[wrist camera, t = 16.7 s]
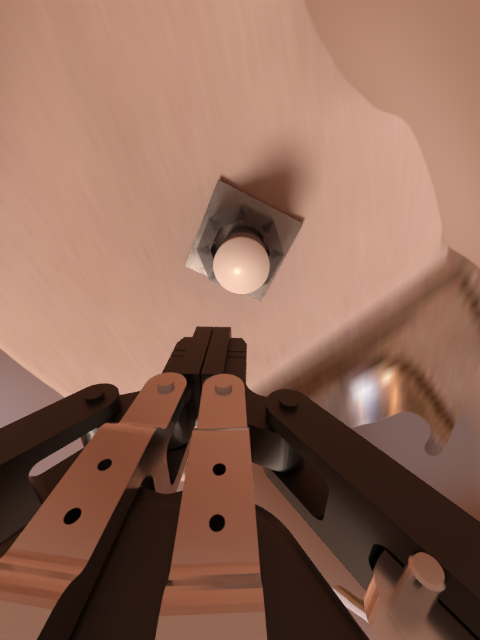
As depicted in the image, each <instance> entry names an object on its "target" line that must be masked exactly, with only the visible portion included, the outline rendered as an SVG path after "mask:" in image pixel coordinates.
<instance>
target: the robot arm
mask: <svg viewBox="0 0 480 640" xmlns="http://www.w3.org/2000/svg"><path fill="white" fill-rule="evenodd" d="M246 356H247V344H246V343H245V341H244V340H243V339H242V338H231V327H196V330H195V332H194V335H193V337H184V338H183V339H182V340H180V341H179V342H178V343H177V344H176V346H175V348H174V351H173V352H172V354H171V357H170V358H169V360H168V362H167V364H166V366H165V368H164V370H163V372H162V374H158V375H156V376H154V377H152V378H151V379H149V380H148V381H147V382H146V384H145V385H144V387H143V388H142V390H141V391H138V392H134V393H128V394H123V395H119V391H118V388H117V387H116V386H114V385H112V384H96V385H92V386H89V387H87V388H85V389H83V390H80V391H78V392H76V393H74V394H72V395H70V396H68V397H66V398H64V399H61V400H59V401H57V402H55V403H53V404H51V405H49V406H47V407H45V408H43V409H40V410H38V411H36V412H34V413H32V414H30V415H28V416H26V417H23V418H21V419H19V420H17V421H15V422H13V423H11V424H9V425H7V426H4V427H3V428H0V640H369V638H368V637H367V636H366V634H365V633H364V631H363V630H362V629H361V627H360V626H359V625H358V623H357V622H356V621H355V619H354V618H353V617H352V615H351V614H350V612H349V611H348V610H347V608H346V607H345V606H344V604H343V603H342V602H341V600H340V599H339V598H338V596H337V595H336V593H335V592H334V591H333V589H332V588H331V587H330V585H329V584H328V583H327V581H326V580H325V579H324V577H323V576H322V575H321V573H320V572H319V571H318V569H317V568H316V566H315V565H314V564H313V562H312V561H311V560H310V558H309V557H308V556H307V554H306V553H305V551H304V550H303V549H302V548H301V546H300V545H299V544H298V542H297V541H296V539H295V538H294V537H293V535H292V534H291V533H290V531H289V530H288V529H287V528H286V527H285V526H284V525H283V524H282V523H281V522H280V520H278V519H277V518H276V517H275V516H274V515H272V514H271V513H269V512H268V511H267V510H265V509H264V508H262V507H259V506H258V505H256V504H255V500H254V487H253V474H252V462H253V463H255V464H259V465H261V466H263V470H264V472H265V474H266V475H267V477H268V478H269V479H270V480H271V482H272V483H273V484H274V485H275V486H276V487H277V488H278V490H279V491H280V492H281V493H282V494H283V495H284V497H285V498H286V499H287V500H288V501H289V502H290V504H291V505H292V506H293V507H294V508H295V509H296V510H297V512H298V513H299V514H300V515H301V516H302V518H303V519H304V520H305V521H306V522H307V523H308V524H309V526H310V527H311V528H312V529H313V530H314V532H315V533H316V534H317V535H318V536H319V537H320V539H321V540H322V541H323V542H324V543H325V544H326V545H327V547H328V548H329V549H330V550H331V551H332V552H333V554H334V555H335V556H336V557H337V558H338V559H339V561H340V562H341V563H342V564H343V565H344V566H345V568H346V569H347V570H348V571H349V572H350V573H351V574H352V576H353V577H354V578H355V579H356V580H357V581H358V583H359V584H360V585H361V586H362V587H363V588H364V590H365V598H364V605H365V612H366V616H367V620H368V622H369V625H370V627H371V630H372V631H373V634H374V635H375V637H376V639H377V640H480V522H479V521H478V520H476V519H475V518H473V517H472V516H471V515H469V514H468V513H467V512H465V511H464V510H463V509H461V508H460V507H458V506H457V505H456V504H454V503H453V502H452V501H450V500H449V499H447V498H446V497H445V496H443V495H442V494H440V493H439V492H438V491H436V490H435V489H434V488H432V487H431V486H429V485H428V484H426V483H425V482H424V481H422V480H421V479H420V478H418V477H417V476H416V475H414V474H413V473H411V472H410V471H409V470H407V469H406V468H404V467H403V466H402V465H400V464H399V463H398V462H396V461H395V460H393V459H392V458H391V457H389V456H388V455H386V454H385V453H384V452H382V451H381V450H379V449H378V448H377V447H375V446H374V445H373V444H371V443H370V442H368V441H367V440H366V439H364V438H363V437H362V436H360V435H359V434H357V433H356V432H355V431H353V430H352V429H351V428H349V427H348V426H346V425H345V424H344V423H342V422H341V421H339V420H338V419H337V418H335V417H334V416H333V415H331V414H330V413H328V412H327V411H326V410H324V409H323V408H321V407H320V406H319V405H317V404H316V403H315V402H313V401H312V400H310V399H309V398H308V397H306V396H305V395H303V394H302V393H300V392H297V391H294V390H289V389H282V390H277V391H274V392H272V393H271V394H270V395H269V396H268V397H264V396H261V395H258V394H256V393H254V392H252V391H251V390H250V389H249V388H248V387H247V385H246ZM195 426H197V428H194V427H195ZM79 437H81V440H82V443H83V446H84V448H83V449H81V450H79V451H78V452H76V453H75V454H73V455H71V456H70V457H68V458H67V459H65V460H63V461H61V462H60V463H58V464H57V465H55V466H53V467H52V468H50V469H48V470H47V471H45V472H44V473H42V474H40V475H38V476H33V477H30V476H29V472H30V470H31V469H32V467H33V466H34V465H35V464H36V463H38V462H39V461H41V460H42V459H44V458H46V457H47V456H49V455H51V454H52V453H54V452H56V451H58V450H59V449H61V448H63V447H65V446H66V445H68V444H70V443H71V442H73V441H75V440H76V439H78V438H79ZM187 459H188V462H187ZM186 462H187V468H186V475H185V481H184V487H183V491H180V492H177V489H178V486H179V483H180V480H181V477H182V474H183V471H184V468H185V465H186Z"/></svg>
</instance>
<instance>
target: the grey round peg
mask: <svg viewBox="0 0 480 640" xmlns="http://www.w3.org/2000/svg"><path fill="white" fill-rule="evenodd" d="M269 269H270V264H269V258H268V255H267V252H266V248H265V243H264V240H263V237H262V235H261V234H260V233H259V232H258V231H257V230H256V229H254V228H252V227H249V226H240V227H237V228H235V229H233V230H232V231H231V232H230V233H229V234H228V236H227V237H226V239H225V241H224V242H223V244H222V245H221V246H220V248H219V249H218V251H217V252H216V254H215V257H214V261H213V271H214V274H215V277H216V279H217V281H218V282H219V283H220V285H221V286H222V287H223V288H225V289H226V290H228V291H230V292H233V293H237V294H247V293H251V292H253V291H255V290H257V289H258V288H260V287H261V286H262V285H263V284H264V282H265V281H266V279H267V277H268V274H269Z"/></svg>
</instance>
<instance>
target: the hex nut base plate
mask: <svg viewBox="0 0 480 640" xmlns="http://www.w3.org/2000/svg"><path fill="white" fill-rule="evenodd" d="M302 224H303V223H301V222H300V221H298V220H296V219H294V218H292V217H290V216H288V215H286V214H284V213H282V212H280V211H278V210H276V209H274V208H272V207H271V206H269V205H267V204H265V203H263V202H261V201H259V200H257V199H255V198H253V197H251V196H249V195H247V194H245V193H243V192H241V191H240V190H238V189H236V188H234V187H232V186H230V185H228V184H226V183H224V182H222V181H220V180H218V182H217V184H216V187H215V190H214V192H213V195H212V197H211V200H210V203H209V205H208V208H207V210H206V213H205V216H204V218H203V221H202V223H201V226H200V229H199V231H198V234H197V236H196V239H195V242H194V244H193V247H192V249H191V252H190V254H189V257H188V260H187V262H186V265H185V266H186V267H188V268H190V269H193V270H195V271H197V272H199V273H201V274H204V275H206V276H208V278H209V280H210V281H212V282H214V283H217V284H219V285H220V283H219V282H218V281H217V279H216V277H215V274H214V271H213V261H214V257H215V254H216V252H217V251H218V249H219V248H220V246H221V245H222V244H223V242H224V241H225V239H226V237H227V236H228V234H229V233H230V232H231V231H232V230H233V229H235V228H237V227H240V226H249V227H252V228H254V229H256V230H257V231H258V232H259V233H260V234H261V235H262V237H263V240H264V243H265V248H266V252H267V255H268V258H269V264H270V269H269V274H268V277H267V279H266V281H265V282H264V284H263V285H262V286H261V287H260V288H258V289H257V290H255V291H253V292H251V293H247V295H249V296H251V297H254V298H256V299H258V300H260V301H261V300H262V298H263V296H264V295H265V293H266V291H267V289H268V287H269V285H270V284H271V282H272V280H273V278H274V276H275V274H276V272H277V271H278V269H279V267H280V265H281V263H282V261H283V259H284V258H285V256H286V254H287V252H288V250H289V248H290V246H291V245H292V243H293V241H294V239H295V237H296V235H297V233H298V232H299V230H300V228H301V226H302Z"/></svg>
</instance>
